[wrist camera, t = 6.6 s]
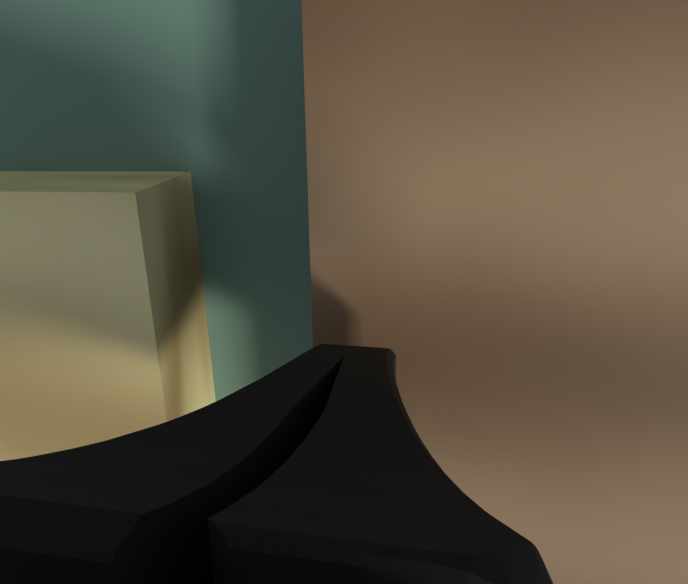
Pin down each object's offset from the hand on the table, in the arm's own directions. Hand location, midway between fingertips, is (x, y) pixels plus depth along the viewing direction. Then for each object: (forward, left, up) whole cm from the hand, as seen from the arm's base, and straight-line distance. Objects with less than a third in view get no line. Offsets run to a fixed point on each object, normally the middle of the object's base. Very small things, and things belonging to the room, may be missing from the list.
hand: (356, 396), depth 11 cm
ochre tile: (0, +7, -1) cm, 7 cm away
